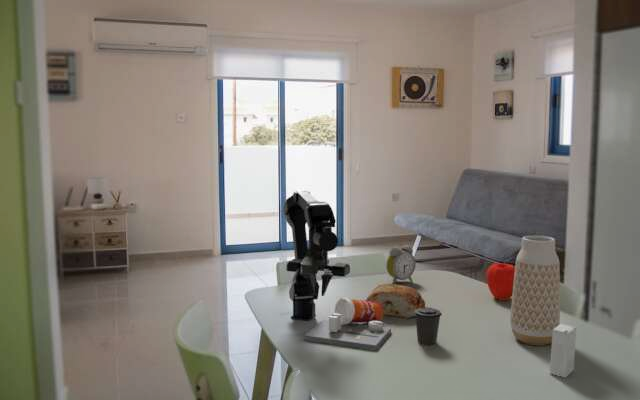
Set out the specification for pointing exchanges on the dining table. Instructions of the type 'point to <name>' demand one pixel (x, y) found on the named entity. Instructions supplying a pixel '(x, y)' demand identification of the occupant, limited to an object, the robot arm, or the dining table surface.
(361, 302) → the coffee cup
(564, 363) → the skincare box
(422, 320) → the coffee cup
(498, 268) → the apple
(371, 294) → the bread
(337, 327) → the fader
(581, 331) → the dining table surface
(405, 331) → the dining table surface
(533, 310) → the vase
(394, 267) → the alarm clock
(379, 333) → the console
